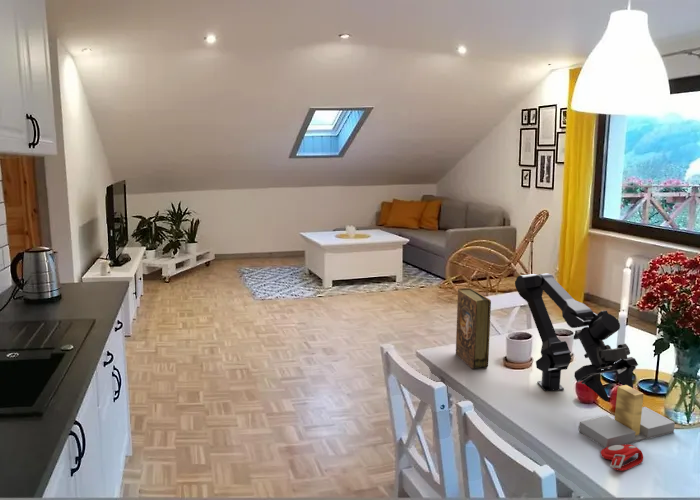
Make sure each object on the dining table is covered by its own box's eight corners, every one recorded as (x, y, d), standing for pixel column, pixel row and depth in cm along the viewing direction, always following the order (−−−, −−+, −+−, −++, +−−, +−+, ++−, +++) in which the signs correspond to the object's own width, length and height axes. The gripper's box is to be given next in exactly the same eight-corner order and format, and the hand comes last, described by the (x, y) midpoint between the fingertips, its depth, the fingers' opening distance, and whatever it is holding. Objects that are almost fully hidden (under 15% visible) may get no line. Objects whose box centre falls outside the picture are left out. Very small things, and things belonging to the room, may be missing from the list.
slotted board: (579, 431, 164) (579, 421, 163) (644, 416, 172) (645, 406, 172) (606, 449, 155) (607, 438, 154) (673, 432, 163) (674, 422, 162)
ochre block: (613, 426, 165) (617, 386, 163) (622, 424, 166) (626, 384, 164) (630, 436, 160) (635, 395, 158) (639, 434, 161) (643, 393, 159)
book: (454, 353, 221) (456, 288, 215) (467, 352, 222) (470, 287, 217) (473, 370, 205) (476, 301, 200) (488, 368, 206) (491, 300, 201)
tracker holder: (593, 445, 155) (631, 436, 154) (597, 462, 155) (635, 453, 154) (611, 460, 143) (652, 451, 142) (615, 478, 143) (656, 469, 142)
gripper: (585, 339, 162) (612, 393, 155) (636, 330, 169) (664, 381, 161) (563, 355, 171) (587, 407, 164) (612, 346, 178) (638, 396, 170)
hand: (620, 397), depth 164 cm, fingers open, 9 cm apart
